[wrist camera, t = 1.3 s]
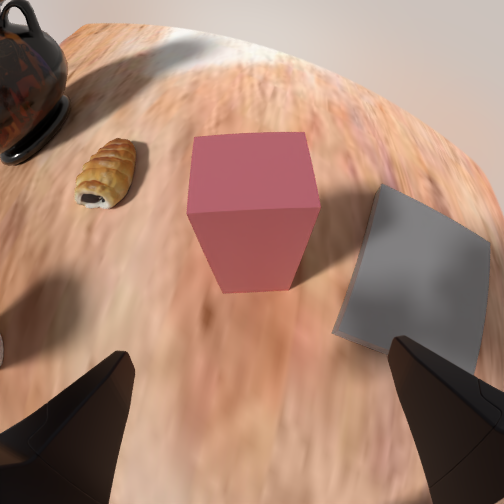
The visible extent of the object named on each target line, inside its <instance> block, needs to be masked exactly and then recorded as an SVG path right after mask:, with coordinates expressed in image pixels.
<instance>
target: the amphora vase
mask: <svg viewBox="0 0 504 504" xmlns="http://www.w3.org/2000/svg"><path fill="white" fill-rule="evenodd" d="M4 1H5V0H0V6H2V3H3V2H4ZM11 7H17V8H19V9H20V10H21V12H22V13H23V14H24V16H25V18H26V21H27V25H28V26H26V25H19V24H13V23H10V22H9V20H8V13H9V10H10V8H11ZM67 75H68V63H67V60H66V58H65V55H64V53H63V51H62V49H61V48H60V47H59V45H58V44H57V43H56V41H55V40H54V39H53V38H52V37H51V36H50V35H48V34H47V33H46V32H44V31H42V30H41V28H40V26H39V24H38V21H37V18H36V15H35V13H34V10H33V8H32V7H31V5H30V3H29V2H28V1H26V0H12V1H10V2H9V3H8V4H7V5H6V6H5V7H4V8H3V10H2V12H1V10H0V160H1V161H2V163H3V164H4V165H8V166H11V165H16V164H19V163H21V162H23V161H25V160H26V159H28V158H29V157H31V156H32V155H33V154H35V153H36V152H37V151H39V150H40V149H41V148H42V147H43V146H44V145H45V144H46V143H47V142H48V141H49V140H50V139H51V138H52V137H53V136H54V135H55V134H56V132H57V131H58V130H59V129H60V127H61V126H62V124H63V123H64V121H65V120H66V118H67V116H68V114H69V111H70V107H71V101H70V99H69V97H68V96H67V95H64V94H63V93H64V90H65V87H66V81H67Z"/></svg>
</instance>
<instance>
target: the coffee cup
mask: <svg viewBox="0 0 504 504" xmlns="http://www.w3.org/2000/svg"><path fill="white" fill-rule="evenodd" d="M3 352H4V350H3V341H2V337H1V334H0V366H1V364H2V361H3Z"/></svg>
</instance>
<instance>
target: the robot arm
mask: <svg viewBox="0 0 504 504" xmlns="http://www.w3.org/2000/svg"><path fill="white" fill-rule="evenodd" d="M388 362H389V365H390V369H391V372H392V376H393V380H394V383H395V387H396V391H397V394H398V397H399V400H400V403H401V405H402V408H403V411H404V413H405V416H406V419H407V421H408V424H409V427H410V430H411V433H412V436H413V438H414V441H415V444H416V447H417V450H418V453H419V457H420V460H421V463H422V466H423V469H424V473H425V476H426V480H427V483H428V487H429V491H430V494H431V498H432V502H433V504H504V392H502V391H500V390H498V389H496V388H495V387H493V386H491V385H489V384H487V383H486V382H484V381H482V380H481V379H478V378H477V377H475V376H474V375H472V374H470V373H469V372H467V371H465V370H464V369H462V368H460V367H458V366H457V365H455V364H453V363H452V362H450V361H448V360H447V359H445V358H443V357H441V356H440V355H438V354H436V353H435V352H433V351H431V350H430V349H428V348H426V347H424V346H423V345H421V344H419V343H418V342H416V341H414V340H412V339H411V338H409V337H407V336H405V335H401V336H396V337H394V338H393V340H392V343H391V346H390V349H389V352H388ZM134 378H135V368H134V365H133V363H132V361H131V358H130V356H129V354H128V352H126V351H115V352H113V353H112V354H111V355H109V356H108V357H107V358H105V359H104V360H103V361H102V362H100V363H99V364H98V365H96V366H95V367H94V368H92V369H91V370H90V371H88V372H87V373H86V374H84V375H83V376H82V377H80V378H79V379H78V380H76V381H75V382H74V383H72V384H71V385H70V386H68V387H67V388H66V389H64V390H63V391H62V392H61V393H59V394H58V395H57V396H55V397H54V398H53V399H51V400H50V401H49V402H48V404H47V403H46V404H45V405H43V406H42V407H41V408H39V409H38V410H37V411H35V412H34V413H32V414H31V415H30V416H28V417H26V418H25V419H23V420H22V421H20V422H19V423H17V424H15V425H14V426H12V427H10V428H9V429H7V430H5V431H4V432H2V433H0V504H109V499H110V493H111V488H112V483H113V478H114V473H115V468H116V463H117V459H118V455H119V450H120V446H121V442H122V438H123V434H124V430H125V426H126V422H127V418H128V414H129V409H130V403H131V397H132V390H133V384H134Z"/></svg>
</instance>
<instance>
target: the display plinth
mask: <svg viewBox="0 0 504 504" xmlns="http://www.w3.org/2000/svg"><path fill="white" fill-rule="evenodd" d="M489 273H490V243H489V242H488V241H486V240H485V239H483V238H482V237H480V236H478V235H477V234H475V233H474V232H472V231H470V230H469V229H467V228H465V227H464V226H462V225H460V224H459V223H457V222H455V221H454V220H452V219H450V218H448V217H447V216H445V215H443V214H441V213H439V212H438V211H436V210H434V209H432V208H430V207H428V206H426V205H424V204H423V203H421V202H419V201H417V200H415V199H413V198H411V197H409V196H407V195H405V194H403V193H401V192H399V191H397V190H394V189H392V188H390V187H388V186H386V185H384V184H381V186H380V188H379V189H378V191H377V193H376V194H375V198H374V202H373V206H372V210H371V214H370V218H369V221H368V225H367V229H366V232H365V236H364V239H363V243H362V246H361V250H360V253H359V256H358V259H357V263H356V266H355V269H354V272H353V275H352V278H351V281H350V284H349V287H348V290H347V293H346V296H345V299H344V301H343V304H342V307H341V310H340V313H339V315H338V318H337V321H336V323H335V326H334V328H333V331H332V334H335V335H337V336H340V337H342V338H345V339H347V340H350V341H352V342H355V343H357V344H360V345H363V346H365V347H368V348H370V349H373V350H376V351H378V352H381V353H384V354H386V355H388V352H389V349H390V346H391V343H392V340H393V338H394V337H396V336H401V335H405V336H407V337H409V338H411V339H412V340H414V341H416V342H418V343H419V344H421V345H423V346H424V347H426V348H428V349H430V350H431V351H433V352H435V353H436V354H438V355H440V356H441V357H443V358H445V359H447V360H448V361H450V362H452V363H453V364H455V365H457V366H458V367H460V368H462V369H464V370H465V371H467V372H469V373H470V374H472V375H474V371H475V367H476V363H477V359H478V355H479V350H480V345H481V340H482V334H483V328H484V322H485V315H486V307H487V299H488V288H489Z"/></svg>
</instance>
